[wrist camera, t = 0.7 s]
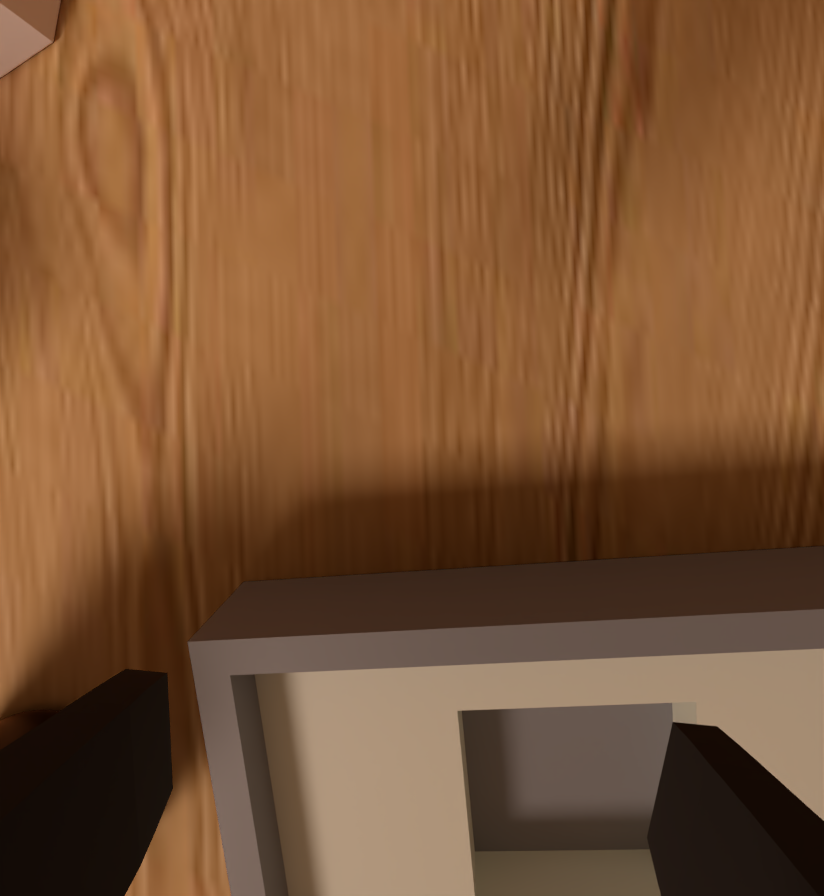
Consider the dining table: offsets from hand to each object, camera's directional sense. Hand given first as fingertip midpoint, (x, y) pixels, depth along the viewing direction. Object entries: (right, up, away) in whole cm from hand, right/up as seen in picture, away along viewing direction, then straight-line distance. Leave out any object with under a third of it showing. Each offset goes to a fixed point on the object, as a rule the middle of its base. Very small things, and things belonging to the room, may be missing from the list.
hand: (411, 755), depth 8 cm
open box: (+5, -6, +11) cm, 13 cm away
